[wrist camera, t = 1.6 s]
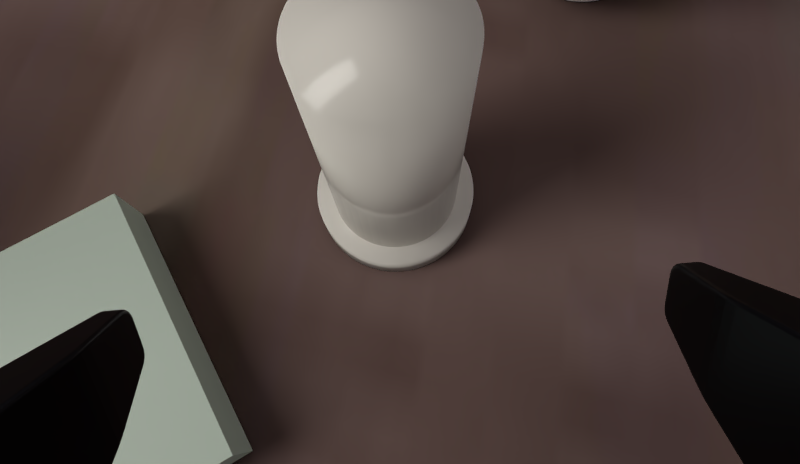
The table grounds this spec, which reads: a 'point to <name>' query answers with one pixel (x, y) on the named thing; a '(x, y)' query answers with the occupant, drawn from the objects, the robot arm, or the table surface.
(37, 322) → the block
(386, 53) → the white rounded piece
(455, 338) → the table surface
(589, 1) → the lidded jar
